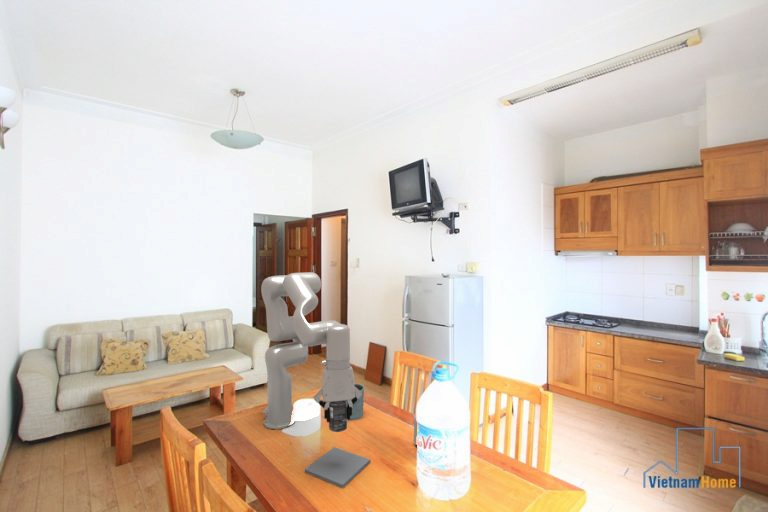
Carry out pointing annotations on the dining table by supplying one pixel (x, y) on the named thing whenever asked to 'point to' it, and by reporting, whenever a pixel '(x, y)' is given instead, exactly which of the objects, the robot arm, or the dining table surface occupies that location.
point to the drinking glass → (358, 404)
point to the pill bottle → (338, 416)
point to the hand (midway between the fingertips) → (338, 418)
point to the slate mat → (337, 467)
